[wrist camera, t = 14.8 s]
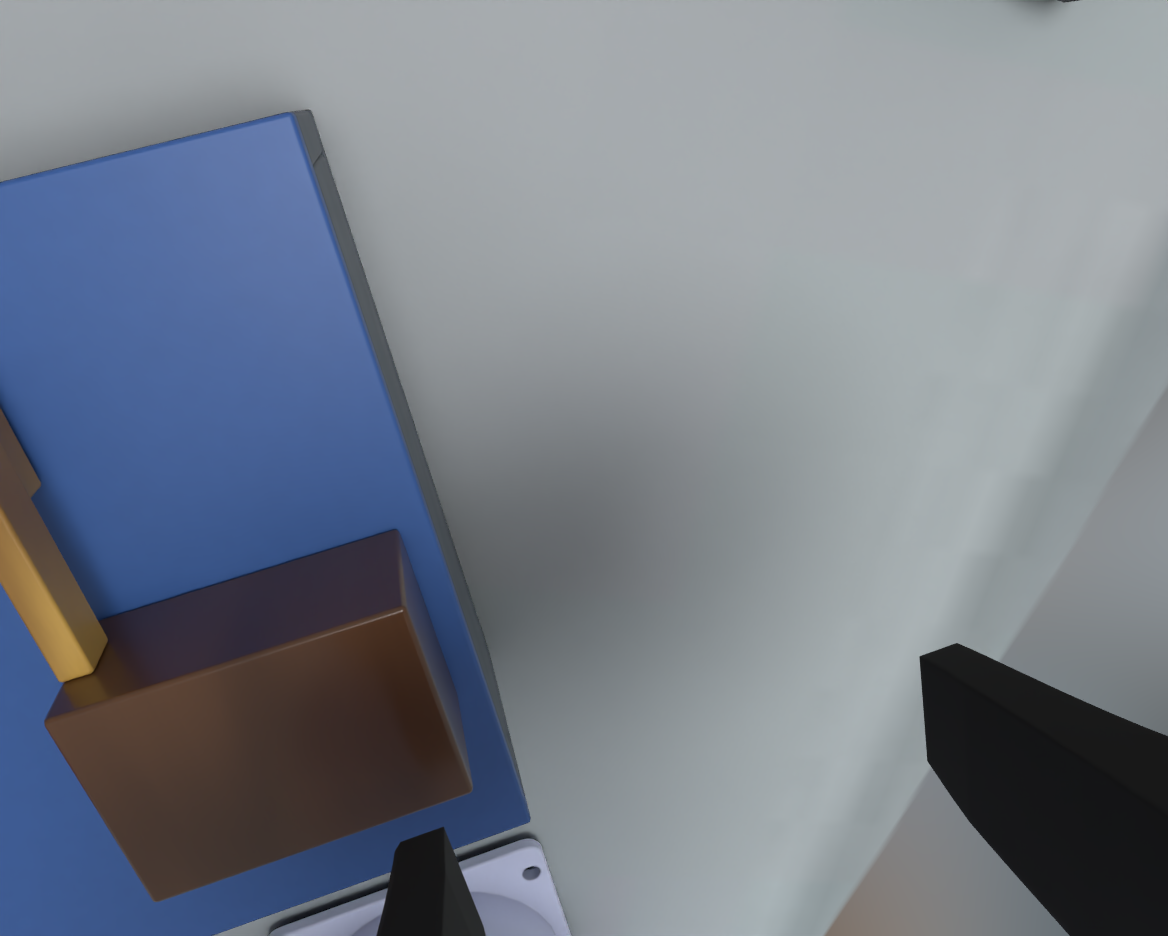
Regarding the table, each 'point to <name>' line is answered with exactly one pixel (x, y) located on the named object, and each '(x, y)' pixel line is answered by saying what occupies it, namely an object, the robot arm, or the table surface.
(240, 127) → the lid
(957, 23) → the table surface
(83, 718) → the key
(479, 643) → the box
